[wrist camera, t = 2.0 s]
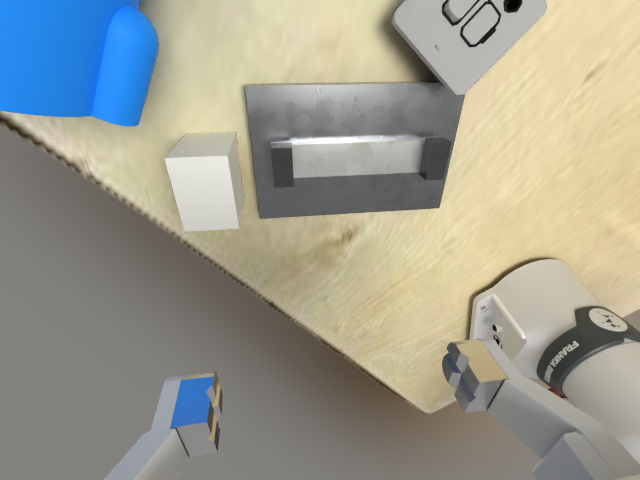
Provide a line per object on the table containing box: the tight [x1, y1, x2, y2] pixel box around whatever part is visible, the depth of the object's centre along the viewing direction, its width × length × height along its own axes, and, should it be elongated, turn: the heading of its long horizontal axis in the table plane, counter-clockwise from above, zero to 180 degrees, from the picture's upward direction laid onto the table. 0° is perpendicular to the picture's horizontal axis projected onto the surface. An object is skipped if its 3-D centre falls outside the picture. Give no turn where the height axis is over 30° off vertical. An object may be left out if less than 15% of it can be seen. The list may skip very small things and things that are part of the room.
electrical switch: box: [391, 0, 547, 96], centre depth 28 cm, size 9×5×9 cm
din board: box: [245, 81, 465, 219], centre depth 34 cm, size 14×22×4 cm, turn 90°
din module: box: [165, 132, 245, 232], centre depth 31 cm, size 8×5×8 cm, turn 0°
